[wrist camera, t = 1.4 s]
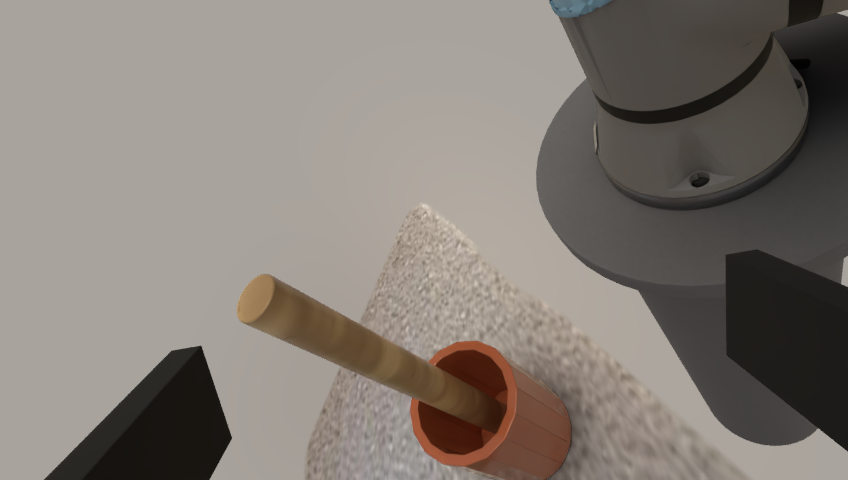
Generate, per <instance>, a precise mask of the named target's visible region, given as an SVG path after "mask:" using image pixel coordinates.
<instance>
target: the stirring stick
mask: <svg viewBox="0 0 848 480" xmlns="http://www.w3.org/2000/svg"><path fill="white" fill-rule="evenodd" d="M237 316H238V318H239V320H240V321H241V322H242V323H244V324H246V325H249V326H251V327H253V328H255V329H258V330H260V331H262V332H265V333H267V334H269V335H271V336H274V337H276V338H278V339H281V340H283V341H285V342H287V343H289V344H292V345H294V346H297V347H299V348H301V349H303V350H306V351H308V352H310V353H312V354H314V355H317V356H319V357H321V358H324V359H326V360H328V361H330V362H333V363H335V364H338V365H339V366H342V367H344V368H346V369H349V370H351V371H353V372H355V373H358V374H360V375H362V376H364V377H367V378H369V379H371V380H374V381H376V382H378V383H380V384H383V385H385V386H387V387H389V388H392V389H394V390H396V391H399V392H401V393H403V394H405V395H408V396H410V397H412V398H414V399H417V400H419V401H421V402H423V403H426V404H428V405H430V406H433V407H435V408H437V409H439V410H442V411H444V412H446V413H448V414H451V415H453V416H455V417H458V418H460V419H462V420H464V421H467V422H469V423H471V424H473V425H476V426H478V427H480V428H483V429H485V430H487V431H489V432H492V433H494V434H496V433H497V432H498V430H499V428H500V426H501V423H502V421H503V419H504V416H505V414H506V412H507V405H505V404H503V403H501V402H500V401H498V400H496V399H494V398H492V397H491V396H489V395H487V394H485V393H483V392H482V391H480V390H478V389H476V388H474V387H472V386H471V385H469V384H467V383H465V382H463V381H462V380H460V379H458V378H456V377H454V376H453V375H451V374H449V373H447V372H445V371H443V370H442V369H440V368H438V367H436V366H434V365H433V364H431V363H429V362H427V361H425V360H424V359H422V358H420V357H418V356H416V355H414V354H413V353H411V352H409V351H407V350H405V349H404V348H402V347H400V346H398V345H396V344H395V343H393V342H391V341H389V340H387V339H386V338H384V337H382V336H380V335H378V334H376V333H375V332H373V331H371V330H369V329H367V328H366V327H364V326H362V325H360V324H358V323H357V322H355V321H353V320H351V319H349V318H347V317H345V316H344V315H342V314H340V313H338V312H337V311H335V310H333V309H331V308H329V307H328V306H325V305H324V304H322V303H320V302H318V301H317V300H315V299H313V298H311V297H309V296H308V295H306V294H304V293H302V292H300V291H299V290H297V289H295V288H293V287H291V286H289V285H288V284H286V283H284V282H282V281H280V280H278V279H277V278H275V277H273V276H271V275H269V274H262V275H259V276H257V277H256V278H254V279H253V280H252V281H251V282H250V283H249V284H248V285H247V286H246V288H245V289H244V291H243V292H242V294H241V296H240V298H239V301H238V305H237Z"/></svg>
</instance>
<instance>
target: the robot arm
mask: <svg viewBox="0 0 848 480" xmlns="http://www.w3.org/2000/svg"><path fill="white" fill-rule="evenodd" d="M549 3H550V4H551V7H552V9H553V11H554V12H555V13H556V14H557V15H558V16H559V18H560V20H561V23H562V25H563V27H564V29H565V31H566V33H567V36H568V38H569V40H570V42H571V44H572V46H573V48H574V51H575V53H576V55H577V58H578V60H579V62H580V64H581V66H582V68H583V70H584V73H585V75H586V77H587V79H588V82H589V84H590V86H591V88H592V90H593V93H594V95H595V97H596V99H597V113H598V124H597V130H596V125H595V124H594V143H595V153H596V150H597V155H598V159H599V161H600V164H601V166H602V168H603V170H604V172H605V174H606V175H607V177H608V179H609V180H610V182H611V183H612V184H613V186H614V187H615V188H616V189H617V190H618V191H620V192H621V193H622V194H623V195H625V196H627V197H628V198H630V199H632V200H634V201H636V202H638V203H641V204H643V205H646V206H650V207H654V208H659V209H666V210H696V209H703V208H709V207H714V206H718V205H722V204H725V203H729V202H731V201H734V200H737V199H739V198H742V197H744V196H746V195H748V194H750V193H752V192H754V191H756V190H758V189H760V188H761V187H763V186H764V185H766V184H767V183H769V182H770V181H772V180H773V179H774V178H775V177H777V176H778V175H779V174H780V173H781V172H782V171H783V170H785V169H786V168H787V167H788V165H789V164H790V163H791V162H792V161H793V160H794V158H795V157H796V155H797V154H798V153H799V151H800V149H801V147H802V146H803V144H804V141H805V139H806V136H807V133H808V129H809V121H810V102H809V94H808V90H807V87H806V85H805V83H804V81H803V79H802V77H801V76H800V74H799V72H798V71H797V70H796V69H805V68H808V67H809V66H810V63H811V62H810V60H809V59H808V58H807V59H791V60H789V59H788V57H787V55H786V54H785V52H784V51H783V49H782V48H781V46H780V45H779V43H778V42H777V40H776V39H775V37H774V34H773V31H776V30H780V29H784V28H786V27H789V26H793V25H796V24H799V23H802V22H806V21H809V20H812V19H817V18H820V17H823V16H827V15H830V14H834V13H837V12H841V11H844V10H848V0H549ZM726 341H727V356H728V357H730V358H731V359H732V360H733V361H735V362H736V363H737V364H738V365H740V366H741V367H742V368H743V369H745V370H746V371H747V372H748V373H750V374H751V375H752V376H753V377H755V378H756V379H757V380H758V381H760V382H761V383H762V384H764V385H765V386H766V387H767V388H769V389H770V390H771V391H772V392H774V393H775V394H776V395H777V396H779V397H780V398H781V399H782V400H784V401H785V402H786V403H787V404H789V405H790V406H791V407H792V408H794V409H795V410H796V411H797V412H799V413H800V414H801V415H803V416H804V417H805V418H806V419H808V420H809V421H810V422H811V423H813V424H814V425H815V426H816V427H818V428H819V429H820V430H821V431H823V432H824V433H825V434H826V435H828V436H829V437H830V438H831V439H833V440H834V441H835V442H837V443H838V444H839V445H840V446H842V447H843V448H844V449H845V450H847V451H848V287H846V286H844V285H841V284H839V283H837V282H834V281H832V280H829V279H827V278H825V277H822V276H820V275H817V274H815V273H813V272H810V271H808V270H805V269H803V268H800V267H798V266H796V265H793V264H791V263H788V262H786V261H784V260H781V259H779V258H776V257H774V256H772V255H769V254H767V253H764V252H762V251H760V250H751V251H745V252H740V253H734V254H728V255H726ZM231 439H232V437H231V434H230V431H229V428H228V425H227V422H226V419H225V416H224V413H223V410H222V407H221V404H220V401H219V398H218V395H217V392H216V389H215V386H214V383H213V380H212V377H211V374H210V371H209V368H208V365H207V362H206V359H205V356H204V353H203V350H202V347H201V346H197V347H191V348H186V349H179V350H174V351H171V352H170V353H169V354H168V355H167V356H166V357H165V358H164V359H163V360H162V361H161V362H160V363H159V364H158V365H157V366H156V367H155V368H154V369H153V370H152V371H151V372H150V373H149V374H148V375H147V376H146V377H145V378H144V379H143V380H142V381H141V382H140V383H139V384H138V385H137V386H136V387H135V388H134V389H133V390H132V391H131V392H130V394H128V396H127V397H125V399H124V400H122V401H121V403H119V405H118V406H117V407H116V408H115V409H114V410H113V411H112V412H111V413H110V414H109V415H108V416H107V417H106V418H105V419H104V420H103V421H102V422H101V423H100V424H99V425H98V426H97V427H96V428H95V429H94V430H93V431H92V432H91V433H90V434H89V435H88V436H87V437H86V438H85V439H84V440H83V441H82V442H81V443H80V444H79V445H78V446H77V447H76V448H75V449H74V450H73V451H72V452H71V453H70V454H69V455H68V456H67V457H66V458H65V459H64V460H63V461H62V462H61V463H60V464H59V465H58V467H56V468H55V469H54V470H53V471H52V473H50V474H49V475H48V476H47V477H46V478H45V479H44V480H209V479H210V478H211V475H212V474H213V472H214V470H215V468H216V466H217V465H218V463H219V461H220V459H221V457H222V455H223V453H224V452H225V450H226V448H227V446H228V445H229V443H230V441H231Z"/></svg>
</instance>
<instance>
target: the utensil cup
mask: <svg viewBox="0 0 848 480" xmlns="http://www.w3.org/2000/svg"><path fill="white" fill-rule="evenodd" d="M429 363H431V364H433V365H434V366H436V367H438V368H440V369H442V370H443V371H445V372H447V373H449V374H451V375H453V376H454V377H456V378H458V379H460V380H462V381H463V382H465V383H467V384H469V385H471V386H472V387H474V388H476V389H478V390H480V391H482V392H483V393H485V394H487V395H489V396H491V397H492V398H494V399H496V400H498V401H500V402H501V403H503V404H505V405H507V412H506V414H505V416H504V419H503V421H502V423H501V426H500V428H499V430H498V432H497V433H496V434H494V433H492V432H489V431H487V430H485V429H483V428H480V427H478V426H476V425H473V424H471V423H469V422H467V421H464V420H462V419H460V418H458V417H455V416H453V415H451V414H448V413H446V412H444V411H442V410H439V409H437V408H435V407H433V406H430V405H428V404H426V403H423V402H421V401H419V400H417V399H414V398H412V400H411V407H410V414H411V419H412V425H413V431H414V434H415V436H416V438H417V439H418V441H419V443H420V444H421V446H422V448H423V449H424V451H425V452H426V453H427V454H428V455H430V456H431V457H433V458H434V459H436V460H437V461H439V462H440V463H442V464H444V465H447V466H450V467H454V468H457V469H461V470H464V471H467V472H471V473H474V474H478V475H481V476H484V477H488V478H491V479H495V480H546V479H548V478H549V477H551V476H552V475H553V474H554V473H555V472H556V471H557V470H558V469H559V468H560V466H561V465H562V463H563V462H564V460H565V458H566V456H567V453H568V450H569V447H570V442H571V424H570V418H569V415H568V412H567V410H566V408H565V405H564V404H563V402H562V401H561V399H560V398H559V397H558V395H557V394H556V393H555V392H554V391H553V390H551V389H550V388H549V387H548V386H547V385H546V384H544V383H543V382H542V381H540V380H539V379H537V378H536V377H535V376H533V375H532V374H530V373H529V372H528V371H526V370H525V369H523V368H522V367H521V366H519V365H518V364H516V363H515V362H514V361H512V360H511V359H509V358H508V357H507V356H505V355H504V354H502V353H501V352H500V351H498V350H497V349H495V348H494V347H491V346H489V345H486V344H484V343H481V342H479V341H464V342H456V343H454V344H452V345H450V346H448V347H446V348H444V349H442V350H440V351H438V352H437V353H436V354H435V355H434V356H433V357H432V358H431V359H430V360H429Z"/></svg>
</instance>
